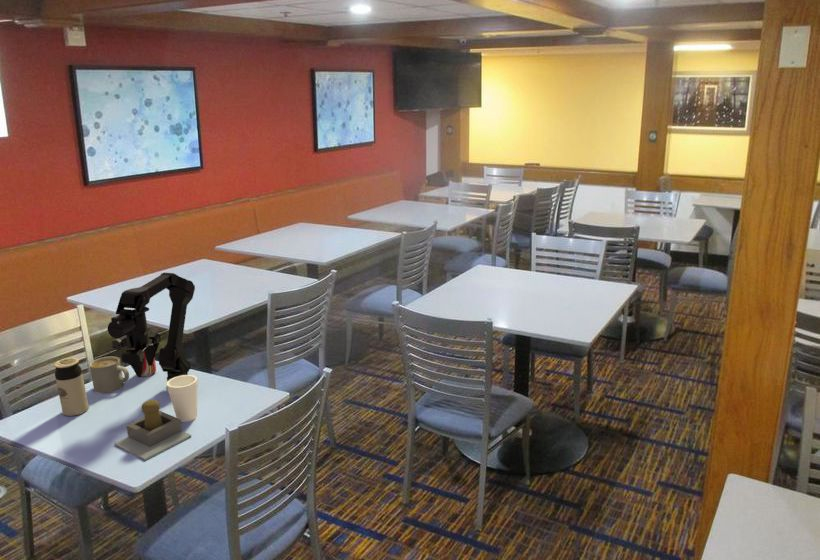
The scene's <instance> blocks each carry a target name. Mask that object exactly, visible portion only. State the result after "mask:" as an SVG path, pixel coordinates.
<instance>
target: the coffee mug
mask: <svg viewBox="0 0 820 560" xmlns="http://www.w3.org/2000/svg"><path fill="white" fill-rule="evenodd" d="M89 370H90V374H91V380H92V385H93V390H94V392H95V393H97V394H108V393H113V392H116V391H119V390H120V389H122V388H124V385H125V384H124V383H126V382H127V381H128V380H129V378H130V373H129V370H128V368H127V367H125V366H122V365H121V359H120V357H118V356H113V355H112V356H111V355H110V356H104V357H99V358H97V359H96V358H95V359H94V360H92V361H91V362H90V363H89ZM123 375H124V376H123Z"/></svg>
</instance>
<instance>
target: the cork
mask: <svg viewBox="0 0 820 560" xmlns="http://www.w3.org/2000/svg"><path fill="white" fill-rule="evenodd" d="M160 405H161V404H160V402H159V401H158V400H156V399H148V400H146V401H144V402H143V403H142V405H141V411H142V413H143V414H144V417H145V430H148V431H151V430H154V429H156V428H158V427H160V426H162V425H163V423H162V419H161V416H160V413H159V411H160V408H161V406H160Z"/></svg>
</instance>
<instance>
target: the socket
mask: <svg viewBox="0 0 820 560" xmlns="http://www.w3.org/2000/svg"><path fill="white" fill-rule="evenodd" d="M159 413H160V416H161V419H162V423H163V425H162V426H160V427H158V428H156V429H154V430H151V431H148V430H145V416H143V417H141V418H138V419H136V420H134V421H132V422H130V423H128V424H126V425H125V426H126V432H127V436H126V437H125V438H123V439H120V440H118V441H116V442H114V446H115V447H118V448H120V449H122V450H123V451H126V452H127V453H130V454H131V455H133V456H135V457H138V458H139V459H141V460H143V461H147V460H149V459H151V458H153V457H155V456H157V455H160V454H161V453H163V452H164V451H167V450H169V449H171V448H172V446H173V447H174V445H175V446H176V444H177V445H179V444H181V443H182V442H185V441H186V440H189V439H190V438H192V434H190V433H187V432H186V431H183V427H182V422H181V420H180V419H178V418H176V416H174V415H170V414H168V413H165V412H164V411H162V410H159ZM189 437H190V438H189ZM178 443H179V444H178Z"/></svg>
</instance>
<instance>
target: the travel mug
mask: <svg viewBox="0 0 820 560" xmlns="http://www.w3.org/2000/svg"><path fill="white" fill-rule="evenodd" d="M79 362H80V359H79V358H78V357H66V358H62V359H59V360H57V361H56V362H54V363H53V367H55V372H54V377H55V383H56V386H57V391H58V392H57V393H58V396H59V401H60V406H61V412H62V414H63V415H64V416H69V417H74V416H78V415H82V414H83V413H85V412H87V411H88V410H89V407H90V406H89V402H88V401H89V400H88V395H87V391H86V386H85V385H86V384H85V381H84V376H83V370H82V367H81V366H80V365H79Z"/></svg>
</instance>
